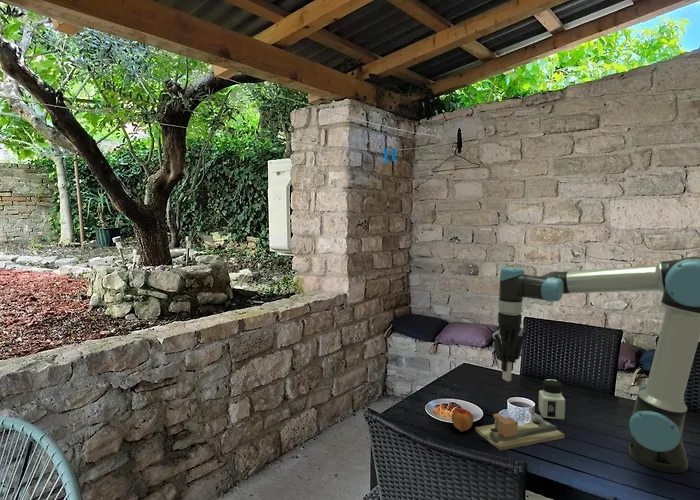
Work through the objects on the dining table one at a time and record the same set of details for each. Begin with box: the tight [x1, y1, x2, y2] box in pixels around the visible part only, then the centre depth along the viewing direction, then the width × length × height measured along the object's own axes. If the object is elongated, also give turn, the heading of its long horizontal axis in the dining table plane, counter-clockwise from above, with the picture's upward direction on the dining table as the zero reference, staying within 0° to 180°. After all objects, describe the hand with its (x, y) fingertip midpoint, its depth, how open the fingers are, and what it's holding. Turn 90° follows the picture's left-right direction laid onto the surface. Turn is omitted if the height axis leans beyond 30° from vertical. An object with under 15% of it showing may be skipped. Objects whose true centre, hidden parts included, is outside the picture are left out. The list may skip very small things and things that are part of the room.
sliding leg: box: [492, 413, 518, 437], centre depth 152 cm, size 8×5×6 cm, turn 18°
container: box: [538, 378, 566, 420], centre depth 170 cm, size 8×8×13 cm
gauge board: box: [474, 416, 566, 451], centre depth 155 cm, size 14×26×4 cm, turn 108°
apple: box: [451, 406, 474, 432], centre depth 158 cm, size 7×7×8 cm
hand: (506, 379), depth 154 cm, fingers closed
